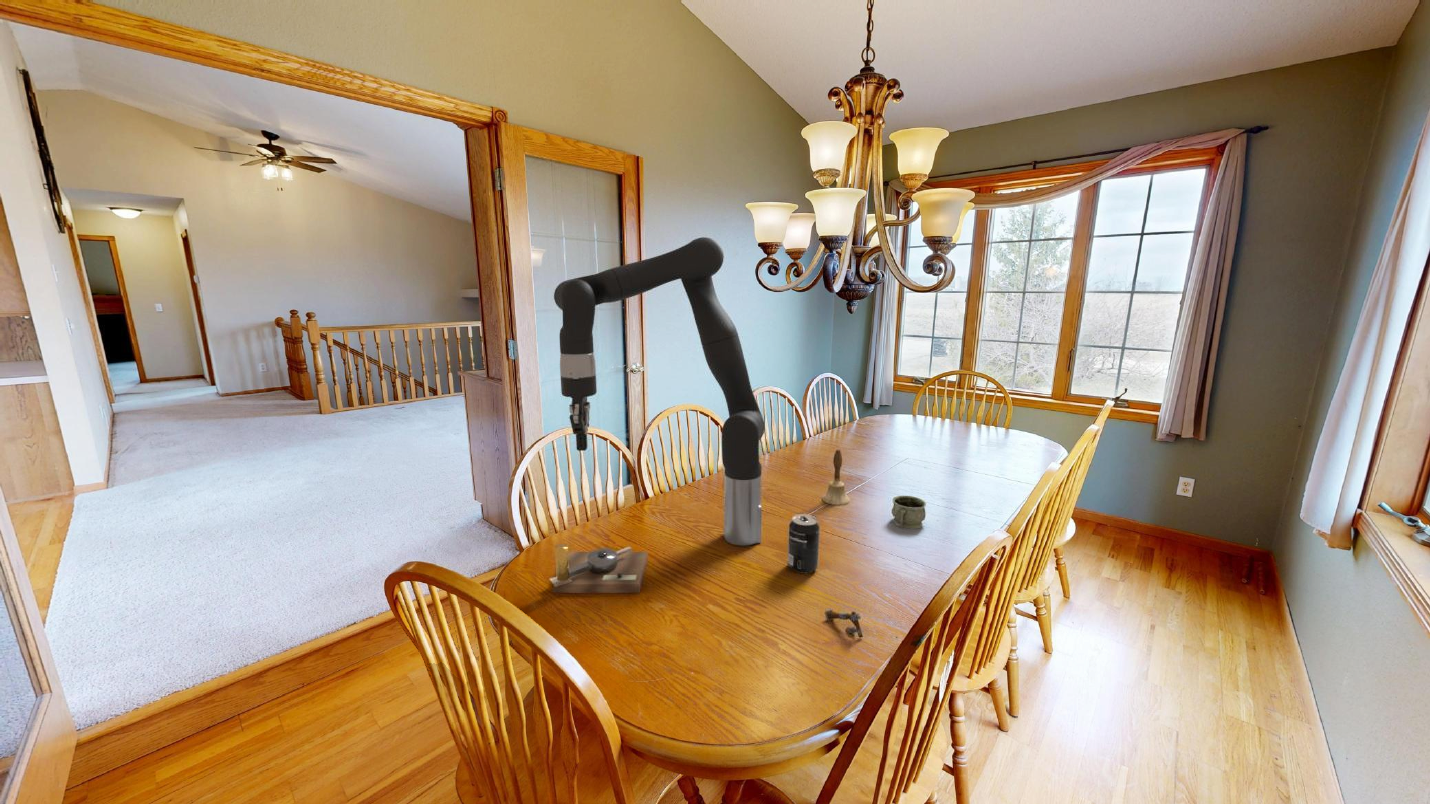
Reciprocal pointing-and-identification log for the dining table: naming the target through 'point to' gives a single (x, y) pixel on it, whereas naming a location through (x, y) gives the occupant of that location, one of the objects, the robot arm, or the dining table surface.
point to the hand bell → (836, 485)
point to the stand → (605, 575)
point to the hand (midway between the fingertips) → (582, 449)
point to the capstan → (596, 562)
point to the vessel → (908, 511)
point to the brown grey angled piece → (845, 616)
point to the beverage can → (803, 543)
